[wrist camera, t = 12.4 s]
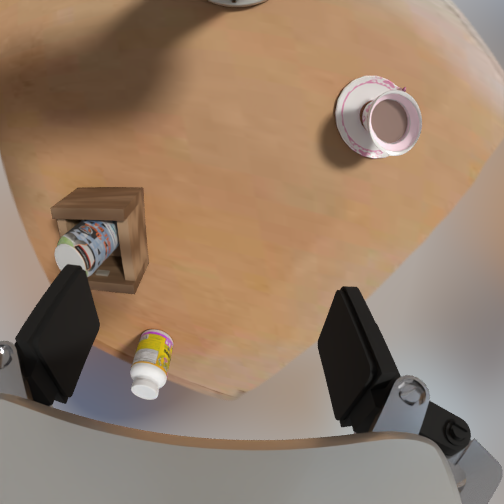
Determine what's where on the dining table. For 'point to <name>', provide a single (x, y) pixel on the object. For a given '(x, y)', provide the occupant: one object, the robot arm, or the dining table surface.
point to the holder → (129, 230)
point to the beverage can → (87, 244)
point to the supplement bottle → (151, 363)
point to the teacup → (378, 117)
